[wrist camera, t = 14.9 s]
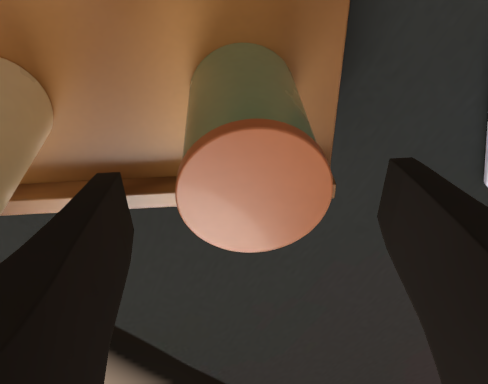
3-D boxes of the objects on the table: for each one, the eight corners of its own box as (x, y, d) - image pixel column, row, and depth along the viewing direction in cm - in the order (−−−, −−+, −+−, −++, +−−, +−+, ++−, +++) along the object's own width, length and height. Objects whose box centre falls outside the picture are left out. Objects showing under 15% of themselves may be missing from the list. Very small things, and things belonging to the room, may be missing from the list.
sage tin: (306, 125, 18) (344, 233, 13) (208, 153, 18) (205, 267, 13) (283, 23, 15) (318, 106, 10) (169, 58, 16) (148, 154, 11)
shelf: (329, -57, 17) (365, -31, 13) (312, 137, 23) (334, 198, 19) (-102, -42, 17) (-204, -11, 13) (-14, 153, 22) (-65, 219, 18)
